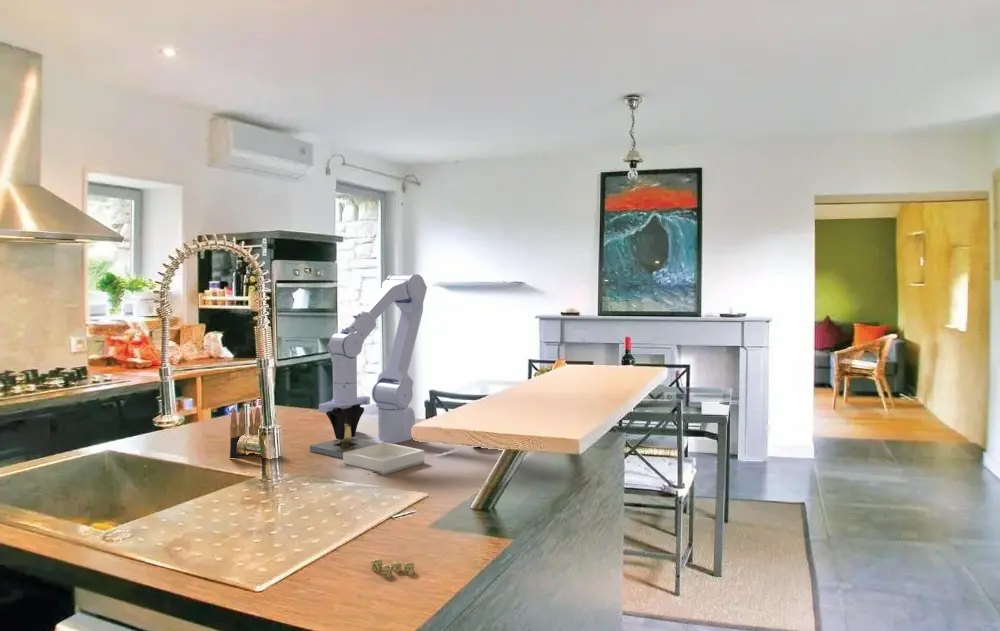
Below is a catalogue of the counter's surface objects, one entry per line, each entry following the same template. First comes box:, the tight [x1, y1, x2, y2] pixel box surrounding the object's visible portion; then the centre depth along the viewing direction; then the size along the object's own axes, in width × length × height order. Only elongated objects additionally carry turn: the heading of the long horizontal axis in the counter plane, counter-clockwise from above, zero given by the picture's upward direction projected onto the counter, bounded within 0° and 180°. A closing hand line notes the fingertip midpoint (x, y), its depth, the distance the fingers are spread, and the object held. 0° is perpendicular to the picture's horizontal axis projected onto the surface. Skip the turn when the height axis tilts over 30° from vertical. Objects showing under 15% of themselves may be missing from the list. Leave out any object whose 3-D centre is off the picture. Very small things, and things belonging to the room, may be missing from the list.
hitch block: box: [309, 437, 381, 460], centre depth 174 cm, size 12×12×2 cm
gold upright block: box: [339, 424, 353, 447], centre depth 174 cm, size 3×3×6 cm
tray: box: [342, 442, 425, 476], centre depth 163 cm, size 13×13×3 cm
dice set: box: [371, 558, 415, 578], centre depth 104 cm, size 5×5×2 cm
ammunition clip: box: [229, 406, 277, 459], centre depth 169 cm, size 11×2×12 cm, turn 107°
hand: (345, 437), depth 174 cm, fingers closed on gold upright block, 3 cm apart
